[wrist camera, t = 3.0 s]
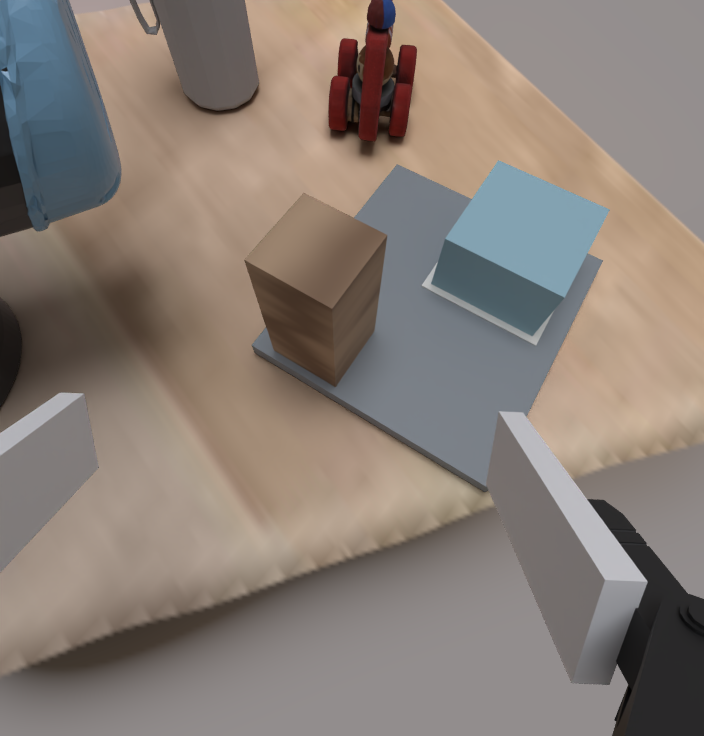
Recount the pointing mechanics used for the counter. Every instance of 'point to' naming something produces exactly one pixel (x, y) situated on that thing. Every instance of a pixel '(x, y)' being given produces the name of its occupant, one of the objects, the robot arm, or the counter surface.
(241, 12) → the water bottle
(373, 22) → the toy fire truck
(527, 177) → the teal block
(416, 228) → the slate board
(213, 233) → the counter surface
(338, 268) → the walnut block
